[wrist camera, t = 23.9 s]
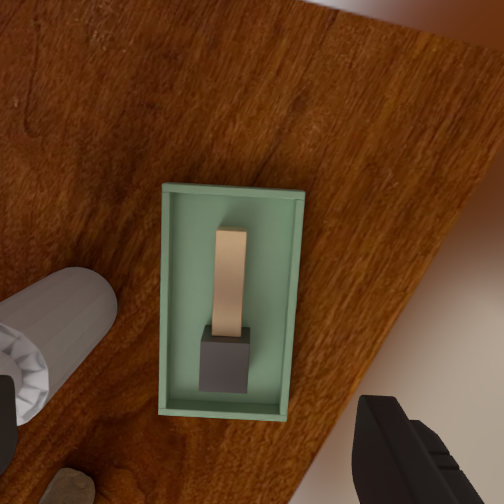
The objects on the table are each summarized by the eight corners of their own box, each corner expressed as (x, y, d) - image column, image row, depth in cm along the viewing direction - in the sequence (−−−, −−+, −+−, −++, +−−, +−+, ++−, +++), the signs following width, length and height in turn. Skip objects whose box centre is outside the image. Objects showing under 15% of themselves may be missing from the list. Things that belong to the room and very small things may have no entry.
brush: (209, 224, 33) (204, 231, 30) (256, 227, 33) (257, 234, 30) (203, 371, 35) (198, 391, 32) (247, 373, 35) (247, 394, 32)
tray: (167, 182, 33) (161, 183, 31) (302, 189, 33) (305, 191, 31) (163, 400, 36) (158, 415, 34) (284, 407, 37) (286, 421, 35)
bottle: (38, 264, 34) (-144, 351, 18) (117, 269, 34) (3, 359, 18) (41, 338, 35) (-127, 479, 20) (117, 342, 35) (11, 486, 20)
